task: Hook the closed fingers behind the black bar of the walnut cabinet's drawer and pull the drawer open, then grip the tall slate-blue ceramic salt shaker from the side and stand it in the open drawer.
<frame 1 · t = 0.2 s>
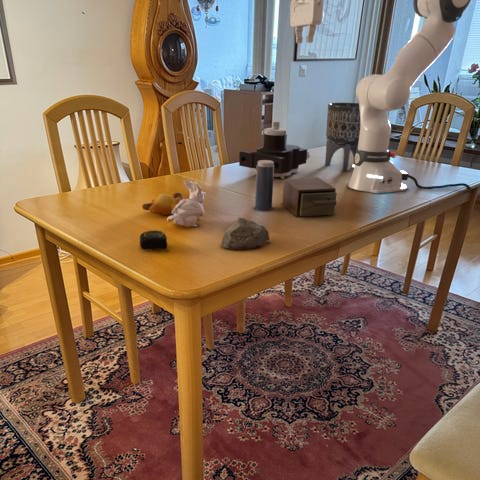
hand: (304, 42, 147), 48 cm above the table, tool pointing down, fingers open, 8 cm apart
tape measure: (155, 249, 118), on the table
rock: (247, 245, 122), on the table
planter: (342, 167, 210), on the table
mechanical component: (280, 173, 197), on the table
salt shaker: (263, 208, 151), on the table
figurine: (187, 225, 135), on the table
cabinet: (306, 209, 151), on the table
toy: (166, 212, 146), on the table
drawer: (313, 201, 144), point 4 cm above the table, slide at 1.0 cm
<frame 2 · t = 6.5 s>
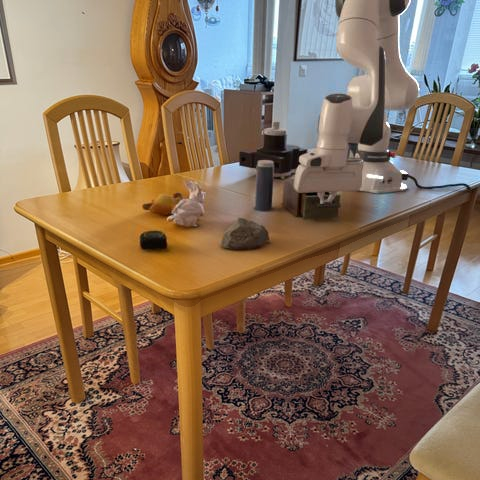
hand: (325, 206, 136), 5 cm above the table, tool pointing down, fingers closed, pressing on drawer
drawer: (317, 203, 142), point 4 cm above the table, slide at 3.8 cm, touching gripper
everything else where it was.
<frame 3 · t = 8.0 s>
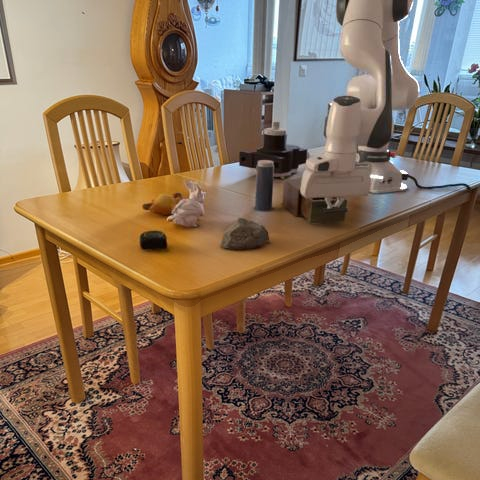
hand: (332, 211, 132), 5 cm above the table, tool pointing down, fingers closed
drawer: (323, 207, 138), point 4 cm above the table, slide at 8.7 cm
everything else where it was.
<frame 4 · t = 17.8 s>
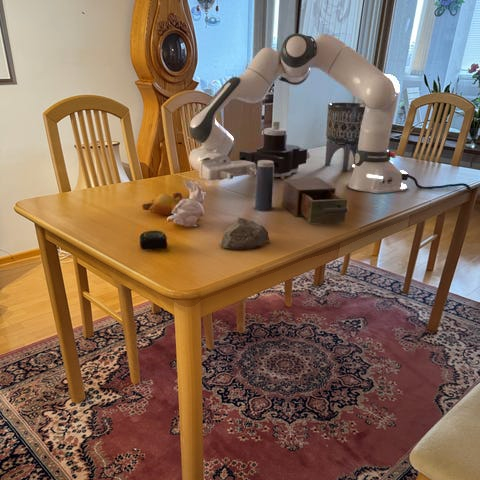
hand: (242, 174, 155), 9 cm above the table, tool horizontal, fingers open, 8 cm apart
nothing on the table moved.
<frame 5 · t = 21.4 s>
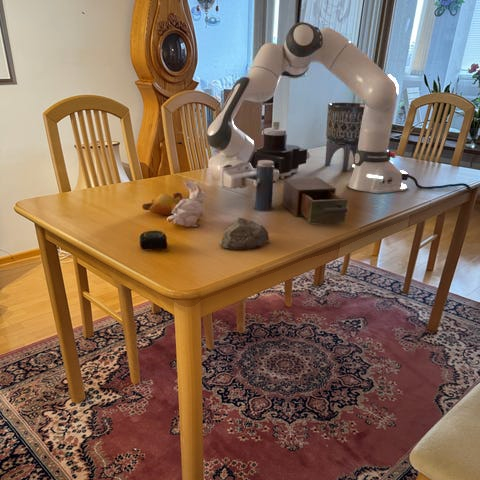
hand: (266, 182, 146), 9 cm above the table, tool horizontal, fingers closed on salt shaker, 5 cm apart
salt shaker: (263, 208, 151), on the table, touching gripper
everything else where it was.
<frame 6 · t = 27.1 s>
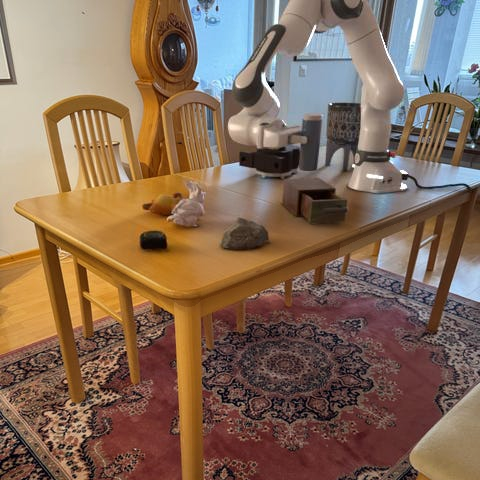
hand: (313, 138, 131), 23 cm above the table, tool horizontal, fingers closed on salt shaker, 5 cm apart
salt shaker: (307, 169, 136), point 15 cm above the table, touching gripper
everything else where it was.
when the fingers open (11 cm above the table, at t = 32.8 s): salt shaker stays where it is, resting on drawer.
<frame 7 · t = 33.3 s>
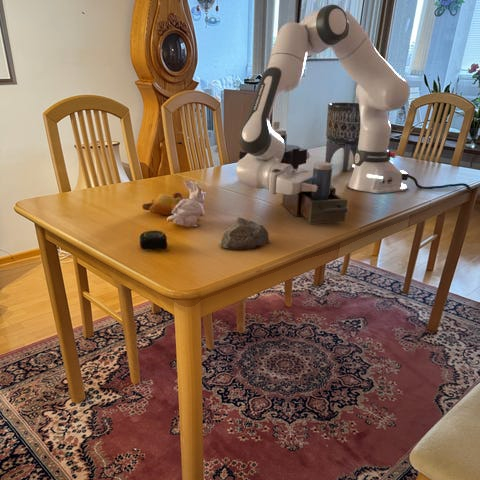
hand: (324, 185, 135), 11 cm above the table, tool horizontal, fingers open, 8 cm apart
salt shaker: (318, 213, 140), point 2 cm above the table, touching drawer
drawer: (323, 207, 138), point 4 cm above the table, slide at 8.7 cm, touching salt shaker
everything else where it was.
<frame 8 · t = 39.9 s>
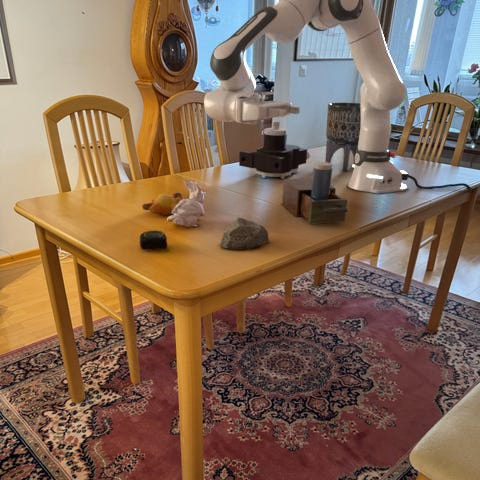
hand: (292, 111, 132), 30 cm above the table, tool horizontal, fingers open, 8 cm apart
nothing on the table moved.
at the end: drawer slide at 8.7 cm; salt shaker inside the target area in the drawer (0.9 cm from its centre), point 1.9 cm above the cabinet's base; salt shaker tilted 0° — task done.
